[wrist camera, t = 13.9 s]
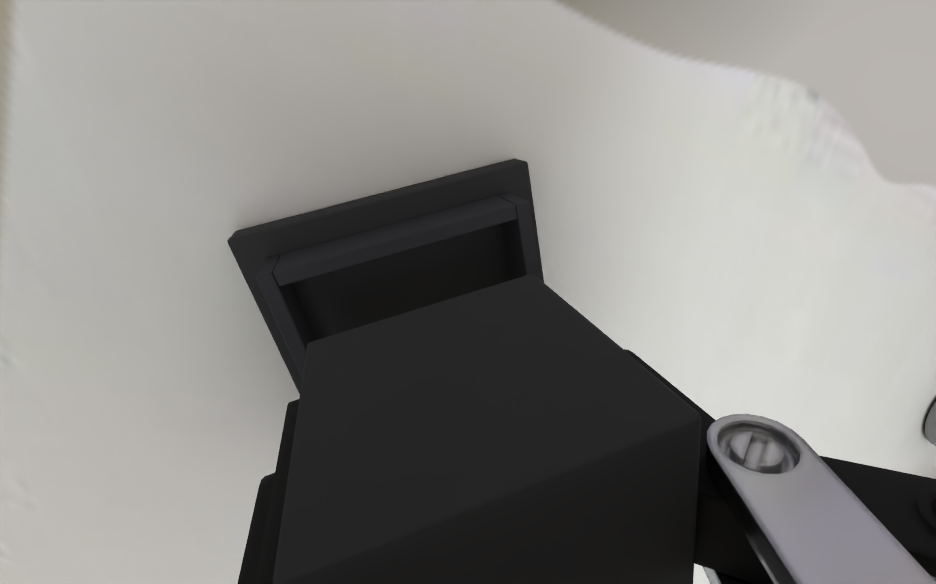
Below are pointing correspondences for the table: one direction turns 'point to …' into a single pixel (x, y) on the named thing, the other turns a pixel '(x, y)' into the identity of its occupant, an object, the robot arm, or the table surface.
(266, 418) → the table surface
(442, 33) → the table surface
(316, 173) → the table surface
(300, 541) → the black cube
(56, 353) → the table surface
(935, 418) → the travel mug
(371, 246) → the base pad
